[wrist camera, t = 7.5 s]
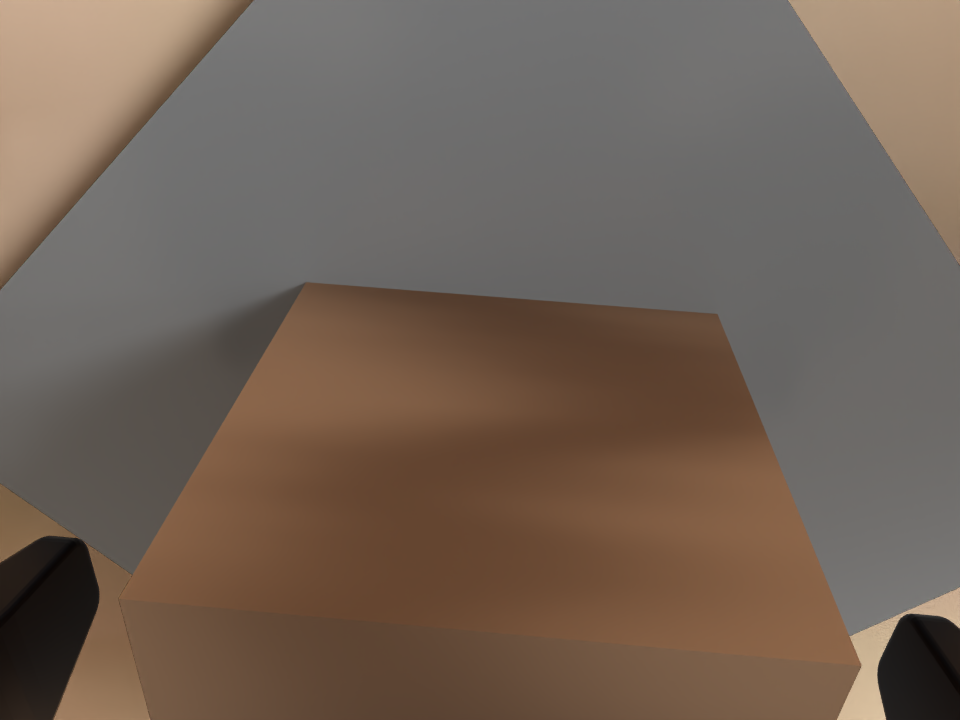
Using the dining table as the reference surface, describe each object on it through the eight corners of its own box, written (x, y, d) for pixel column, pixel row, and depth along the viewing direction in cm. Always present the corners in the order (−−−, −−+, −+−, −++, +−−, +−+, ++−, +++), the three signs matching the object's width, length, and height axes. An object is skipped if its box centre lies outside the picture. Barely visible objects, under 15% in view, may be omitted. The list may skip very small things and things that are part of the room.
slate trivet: (1086, 477, 11) (1121, 515, 11) (469, 766, 16) (466, 805, 15) (559, -328, 7) (560, -350, 6) (-69, 380, 12) (-106, 410, 11)
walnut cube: (717, 314, 9) (861, 665, 5) (649, 602, 12) (708, 995, 8) (305, 282, 10) (118, 599, 5) (326, 573, 12) (210, 943, 8)
